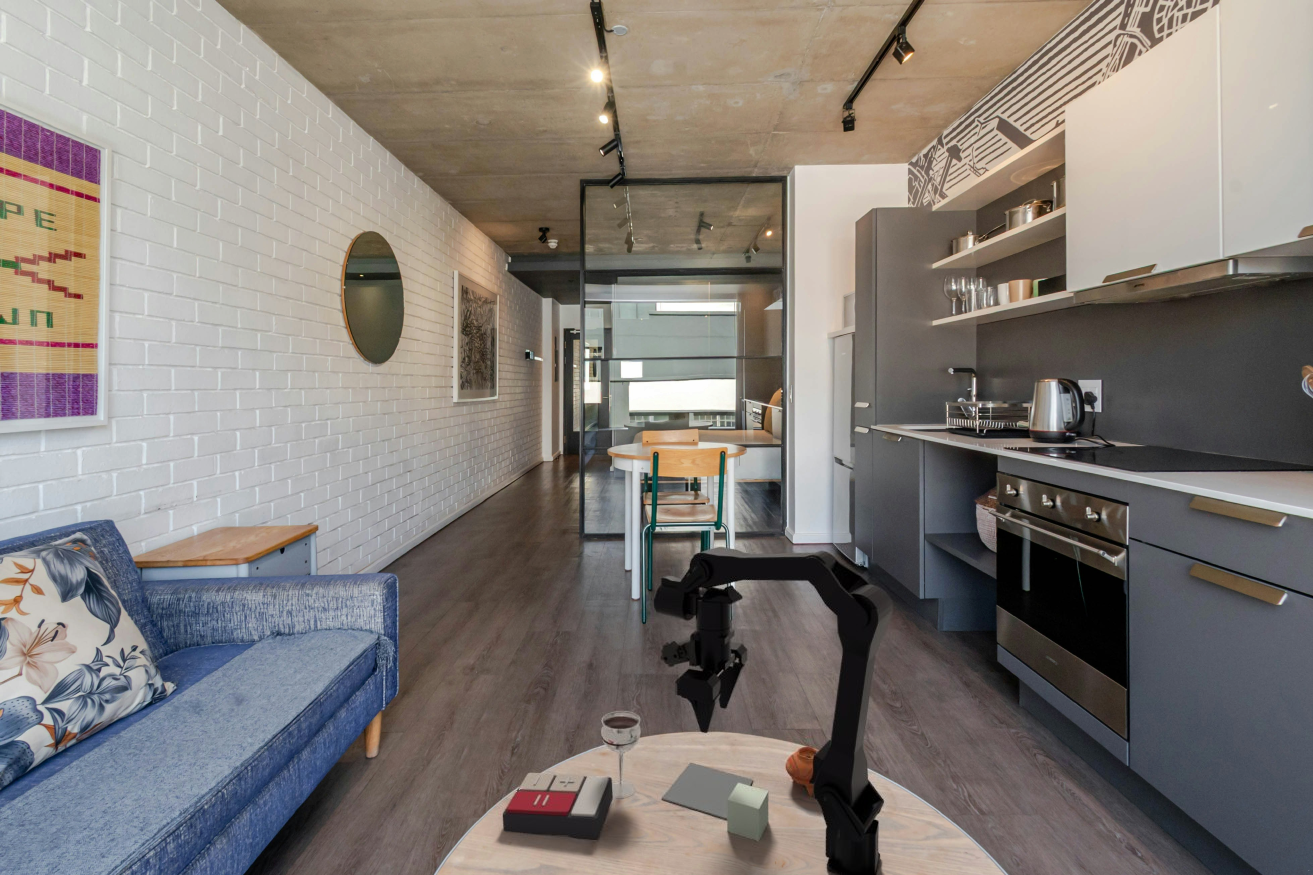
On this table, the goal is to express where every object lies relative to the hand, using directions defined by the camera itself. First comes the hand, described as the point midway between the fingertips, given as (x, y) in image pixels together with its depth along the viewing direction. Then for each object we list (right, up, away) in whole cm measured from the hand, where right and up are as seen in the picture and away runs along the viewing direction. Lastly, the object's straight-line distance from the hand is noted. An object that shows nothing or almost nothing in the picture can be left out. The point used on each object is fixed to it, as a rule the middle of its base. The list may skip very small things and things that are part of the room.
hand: (714, 719), depth 101 cm
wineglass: (-16, -14, +4) cm, 21 cm away
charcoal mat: (-1, -14, +4) cm, 14 cm away
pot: (+17, -14, +5) cm, 22 cm away
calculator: (-25, -14, -3) cm, 29 cm away
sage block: (+5, -14, -6) cm, 16 cm away
